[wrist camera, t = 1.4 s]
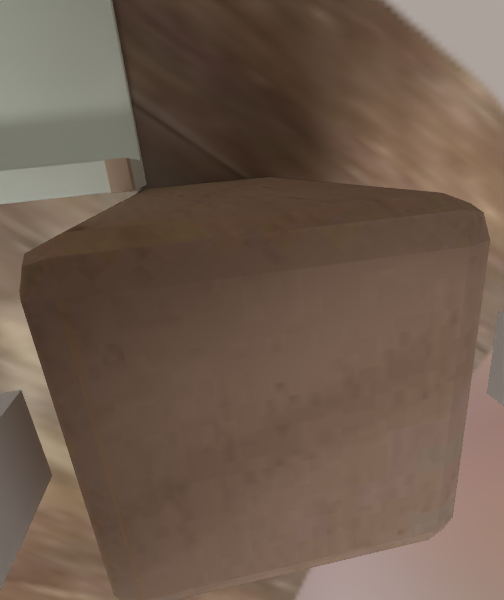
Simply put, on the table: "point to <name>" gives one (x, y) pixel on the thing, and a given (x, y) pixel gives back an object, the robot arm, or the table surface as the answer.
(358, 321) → the wooden block
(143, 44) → the table surface
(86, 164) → the pale green tray
